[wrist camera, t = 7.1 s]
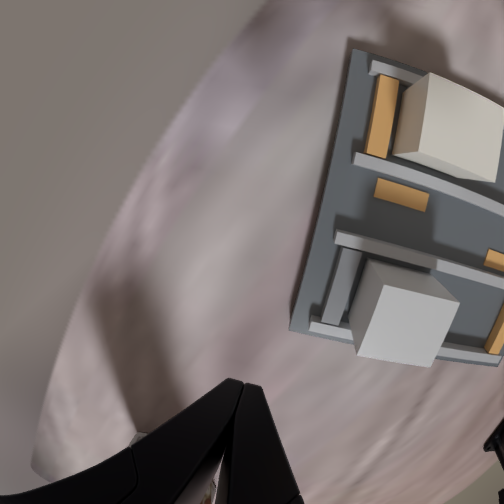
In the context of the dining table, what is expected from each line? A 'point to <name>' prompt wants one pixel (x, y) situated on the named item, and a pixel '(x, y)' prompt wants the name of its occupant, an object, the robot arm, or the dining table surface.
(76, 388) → the dining table surface
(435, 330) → the light grey cube
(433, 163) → the beige cube
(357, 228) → the switch panel
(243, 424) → the robot arm
